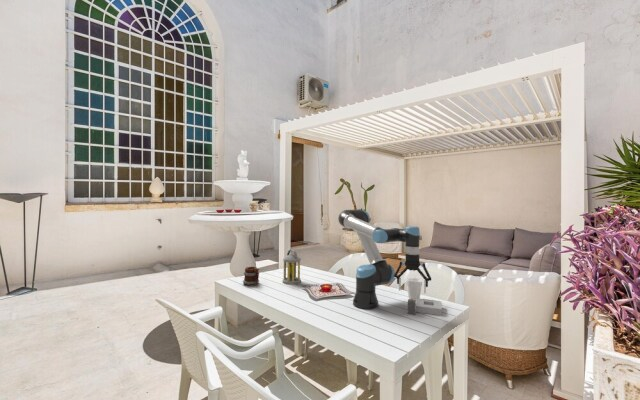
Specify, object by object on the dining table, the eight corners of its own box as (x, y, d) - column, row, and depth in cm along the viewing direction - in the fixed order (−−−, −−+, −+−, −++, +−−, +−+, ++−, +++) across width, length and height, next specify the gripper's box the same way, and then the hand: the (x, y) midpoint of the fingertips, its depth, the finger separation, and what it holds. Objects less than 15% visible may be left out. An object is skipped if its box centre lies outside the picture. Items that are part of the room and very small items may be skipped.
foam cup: (422, 303, 187) (422, 282, 187) (407, 302, 189) (407, 281, 189) (420, 298, 196) (420, 278, 196) (405, 297, 198) (406, 277, 198)
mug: (252, 280, 233) (254, 261, 231) (263, 287, 224) (265, 267, 222) (239, 282, 225) (241, 263, 223) (249, 290, 215) (252, 270, 213)
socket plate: (415, 311, 173) (415, 305, 173) (416, 303, 186) (416, 298, 186) (441, 315, 168) (441, 309, 168) (441, 307, 181) (441, 301, 181)
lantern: (278, 281, 231) (279, 249, 231) (293, 278, 241) (293, 247, 241) (289, 285, 221) (290, 251, 221) (304, 282, 230) (305, 249, 230)
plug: (407, 313, 170) (407, 299, 170) (408, 311, 173) (408, 297, 173) (414, 314, 168) (415, 300, 168) (415, 312, 172) (415, 298, 172)
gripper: (389, 253, 171) (388, 290, 171) (436, 256, 163) (435, 295, 163) (390, 251, 178) (390, 287, 178) (435, 254, 170) (435, 291, 170)
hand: (412, 291), depth 170 cm, fingers open, 13 cm apart
